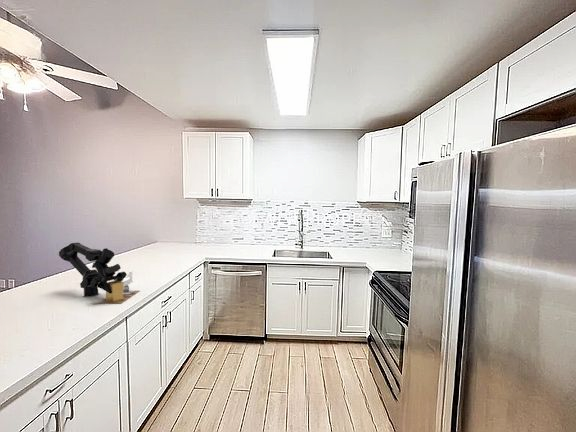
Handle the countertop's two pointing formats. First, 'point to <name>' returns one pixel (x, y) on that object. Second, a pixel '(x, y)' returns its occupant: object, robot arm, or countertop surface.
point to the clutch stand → (126, 296)
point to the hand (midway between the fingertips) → (116, 291)
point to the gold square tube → (115, 291)
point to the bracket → (127, 279)
